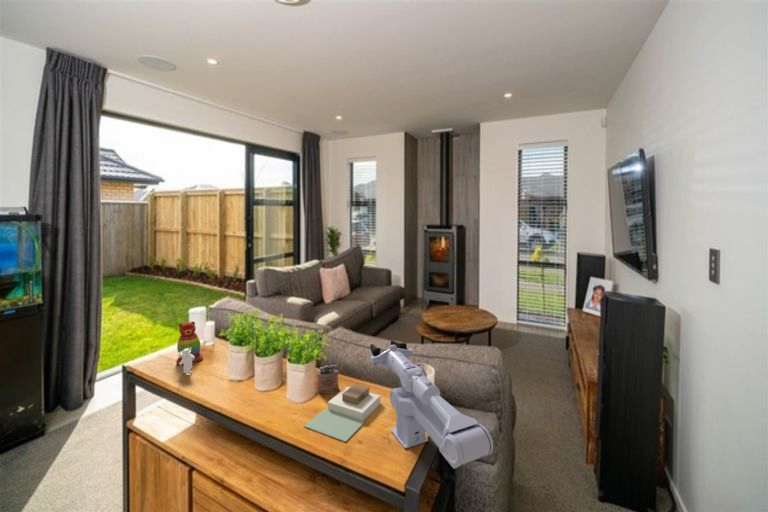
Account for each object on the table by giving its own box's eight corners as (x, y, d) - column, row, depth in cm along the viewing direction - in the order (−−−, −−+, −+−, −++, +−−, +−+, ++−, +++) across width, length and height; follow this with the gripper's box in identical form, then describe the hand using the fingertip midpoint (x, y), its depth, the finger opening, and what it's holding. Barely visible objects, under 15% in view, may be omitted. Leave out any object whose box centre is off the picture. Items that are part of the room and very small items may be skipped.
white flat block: (347, 393, 128) (347, 386, 128) (380, 403, 122) (380, 395, 121) (328, 410, 118) (327, 402, 117) (362, 421, 111) (362, 413, 111)
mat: (325, 409, 118) (325, 408, 118) (365, 422, 111) (365, 421, 111) (304, 427, 109) (304, 425, 109) (345, 442, 101) (345, 441, 101)
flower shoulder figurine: (198, 374, 145) (196, 347, 144) (189, 378, 142) (186, 350, 140) (185, 369, 149) (183, 343, 148) (176, 373, 146) (174, 346, 144)
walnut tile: (355, 390, 125) (354, 383, 125) (369, 394, 122) (369, 387, 122) (342, 400, 118) (342, 393, 118) (357, 405, 115) (356, 398, 115)
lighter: (318, 394, 128) (317, 369, 127) (317, 390, 131) (316, 365, 130) (339, 391, 130) (338, 366, 129) (338, 387, 133) (337, 362, 132)
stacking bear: (176, 366, 153) (172, 327, 151) (177, 357, 162) (173, 321, 160) (203, 360, 158) (200, 323, 156) (202, 353, 167) (200, 318, 165)
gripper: (420, 347, 109) (400, 331, 121) (378, 356, 103) (362, 337, 115) (419, 367, 110) (399, 349, 123) (377, 377, 104) (362, 356, 117)
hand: (381, 345), depth 119 cm, fingers open, 7 cm apart
